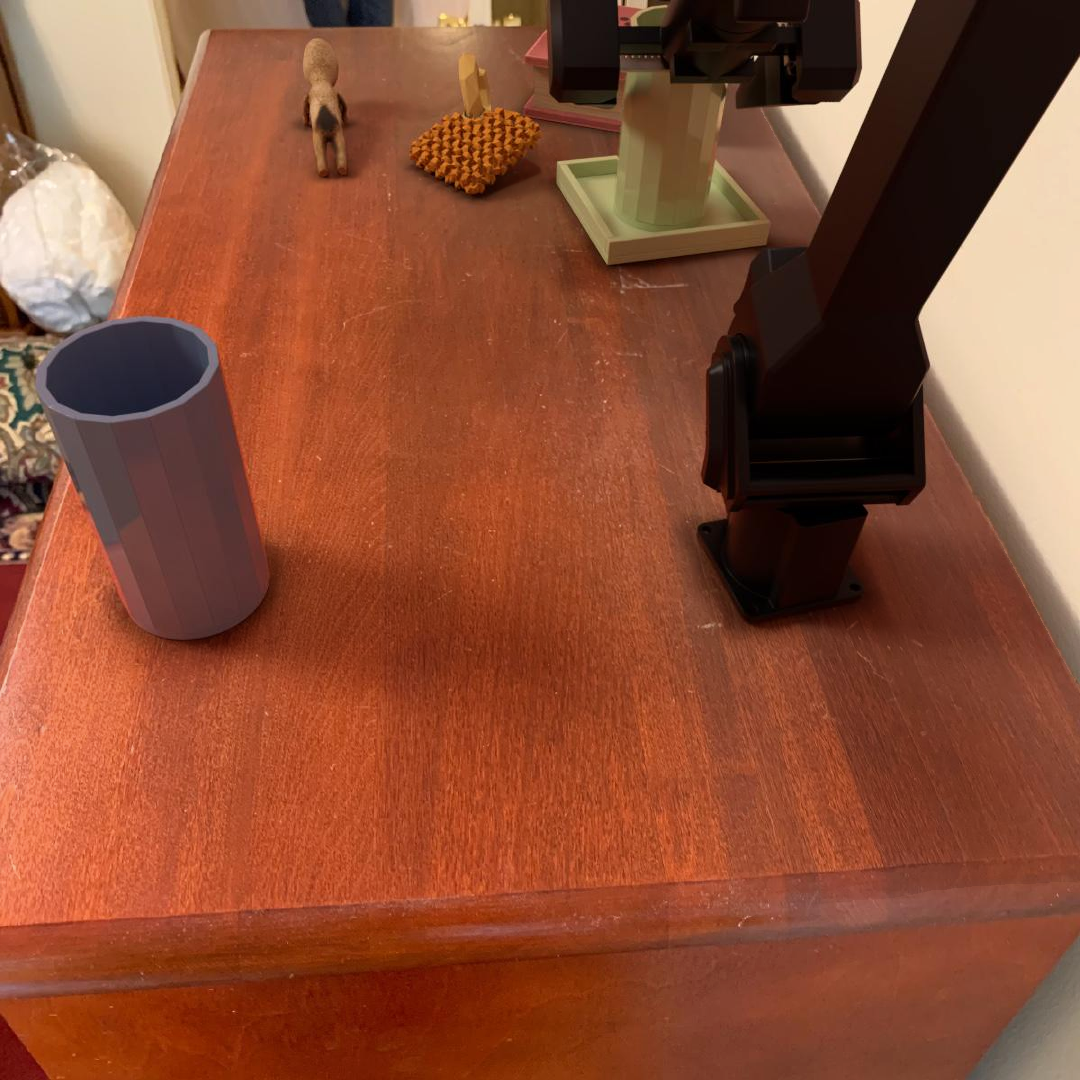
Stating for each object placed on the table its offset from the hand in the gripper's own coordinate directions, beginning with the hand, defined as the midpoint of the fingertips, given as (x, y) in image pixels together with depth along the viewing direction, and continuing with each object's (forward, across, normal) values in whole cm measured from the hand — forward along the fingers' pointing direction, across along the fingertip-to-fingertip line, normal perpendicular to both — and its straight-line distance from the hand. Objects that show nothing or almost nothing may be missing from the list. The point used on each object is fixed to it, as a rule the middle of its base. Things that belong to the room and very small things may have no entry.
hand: (672, 101), depth 69 cm
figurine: (+16, +25, -4) cm, 30 cm away
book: (+21, -1, -9) cm, 23 cm away
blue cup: (-18, +29, +31) cm, 46 cm away
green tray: (+6, 0, +6) cm, 9 cm away
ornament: (+13, +13, -1) cm, 19 cm away
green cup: (+6, 0, +6) cm, 8 cm away
